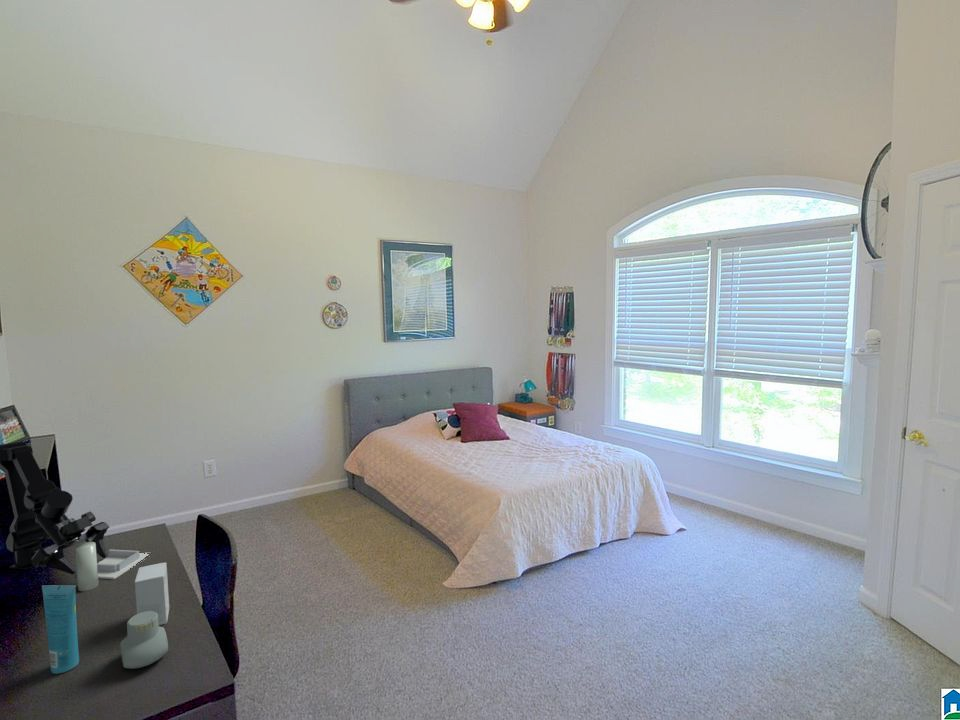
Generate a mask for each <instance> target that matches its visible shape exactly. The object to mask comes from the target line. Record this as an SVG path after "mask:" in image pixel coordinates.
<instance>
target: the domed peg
mask: <svg viewBox="0 0 960 720" xmlns="http://www.w3.org/2000/svg"><path fill="white" fill-rule="evenodd" d="M74 547H75V548H74V550H75V551H74V552H75V563H76V575H77V576H76V577H77V588H78V589H77V590H78V591H79V592H89V591H91V590H93V589H94V590H95V588H97V587H98V586H99V585H100V583H99V578H98V569H97V563H98V558H97V553H96V543H95V542H83V543H79V544H77V545H75V546H74Z"/></svg>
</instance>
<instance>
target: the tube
mask: <svg viewBox="0 0 960 720" xmlns="http://www.w3.org/2000/svg"><path fill="white" fill-rule="evenodd" d="M76 588H77V585H71V584H70V585H67V584H65V585H63V584H61V585H54V584H51V585H50V584H49V585H41V590H42V597H43V607H44V615H45V624H46V634H47V643H48V653H49V655H48V656H49V664H50V672H51V673H52V674H56V675H58V674H62V673H66V672H68V671H70V670H72V669H73V668H75V667H77V666H78V664H79V663H80V653H79V642H78V640H79V639H78V627H77V623H78V622H77V608H76V606H77V605H76V604H77V603H76V599H77V598H76Z"/></svg>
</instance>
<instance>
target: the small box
mask: <svg viewBox="0 0 960 720" xmlns="http://www.w3.org/2000/svg"><path fill="white" fill-rule="evenodd" d="M167 565H168V564H167V562H159V563H156V564H150V565H145V566H140V567H138V569H137V571H136V577H135V579H134V581H133V582H134V590H135V591H134V592H135V606H136V608H135V609H136V615H137V614H139V613H142V612H146V611H153V612H156V613H157V614H158V625H159V626H161V625H166V624H167V623H168V620H169V612H170V600H169V599H170V597H169V583H168V582H169V581H168V568H167Z"/></svg>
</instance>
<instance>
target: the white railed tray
mask: <svg viewBox="0 0 960 720" xmlns="http://www.w3.org/2000/svg"><path fill="white" fill-rule="evenodd" d="M139 552H140V550H130V549H128V550H127V549H111V548H110V549H109V550H108V556H107V557H106V558H103V559H102V560H100V561H99V562H97V569H98V579H105V580H115V579H117V578H118V577H120V576H121V575H123V574H124V573H126V572H127V571H129V570H131V569H132V568H134V567H135V566H137V565H138V564H139V563H138V562H140V561H141V560H143V559H144V558H145V557H146V556H148V555H149V554H147V553H148V552H145V554H144V553H139ZM144 560H145V559H144ZM144 560H143V561H144ZM141 562H142V561H141ZM141 562H140V563H141ZM137 563H138V564H137ZM136 564H137V565H136ZM133 566H134V567H133ZM130 568H131V569H130Z"/></svg>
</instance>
